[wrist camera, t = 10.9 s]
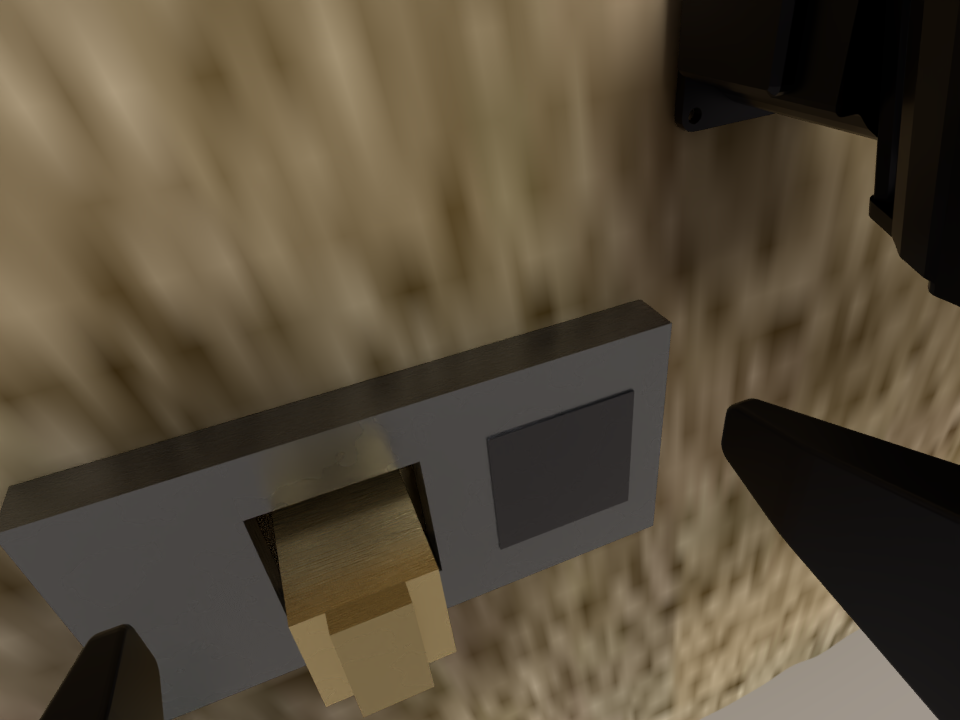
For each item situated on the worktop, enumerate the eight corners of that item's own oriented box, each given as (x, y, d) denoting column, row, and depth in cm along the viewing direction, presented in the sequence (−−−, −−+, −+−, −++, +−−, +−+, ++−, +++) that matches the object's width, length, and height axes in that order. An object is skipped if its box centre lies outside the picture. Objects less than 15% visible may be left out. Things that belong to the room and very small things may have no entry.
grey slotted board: (640, 299, 24) (673, 324, 23) (629, 496, 31) (654, 527, 29) (8, 487, 19) (-9, 537, 17) (152, 679, 25) (149, 730, 23)
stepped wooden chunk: (388, 445, 24) (446, 589, 18) (408, 527, 26) (464, 673, 21) (267, 485, 22) (291, 650, 17) (301, 566, 25) (331, 731, 20)
